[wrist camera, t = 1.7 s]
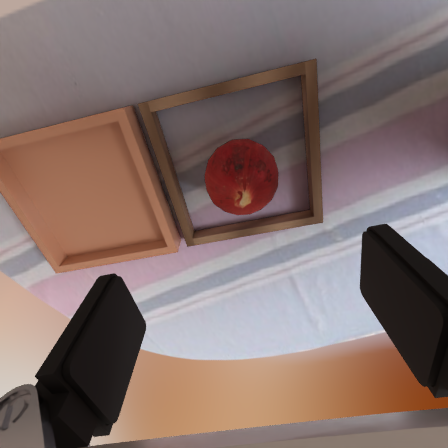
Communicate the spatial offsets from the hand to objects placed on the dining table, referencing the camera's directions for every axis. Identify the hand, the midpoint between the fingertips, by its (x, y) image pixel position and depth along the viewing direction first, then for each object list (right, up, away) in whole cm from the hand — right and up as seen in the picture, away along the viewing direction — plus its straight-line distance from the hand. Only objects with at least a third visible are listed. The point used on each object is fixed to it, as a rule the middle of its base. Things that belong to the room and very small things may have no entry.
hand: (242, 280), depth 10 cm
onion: (+1, +8, +14) cm, 16 cm away
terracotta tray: (-13, +5, +15) cm, 21 cm away
